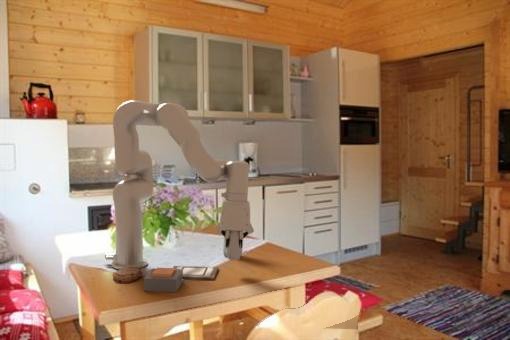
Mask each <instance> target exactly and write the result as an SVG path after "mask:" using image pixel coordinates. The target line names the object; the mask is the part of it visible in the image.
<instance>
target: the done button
mask: <svg viewBox="0 0 510 340" xmlns="http://www.w3.org/2000/svg"><path fill="white" fill-rule="evenodd" d="M155 269H156V270H155V271H154V272H153V273H152V277H173V275H174V274H175V272H176V268H173V267H156V268H155Z"/></svg>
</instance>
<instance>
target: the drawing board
mask: <svg viewBox="0 0 510 340" xmlns="http://www.w3.org/2000/svg"><path fill="white" fill-rule="evenodd" d="M172 268H176V269H183V280H196V281H197V280H199V281H215V278H216V275H217V273H218V271H219V266H199V265H198V266H195V265H194V266H193V265H192V266H189V265H174V266H173V267H172Z"/></svg>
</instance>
